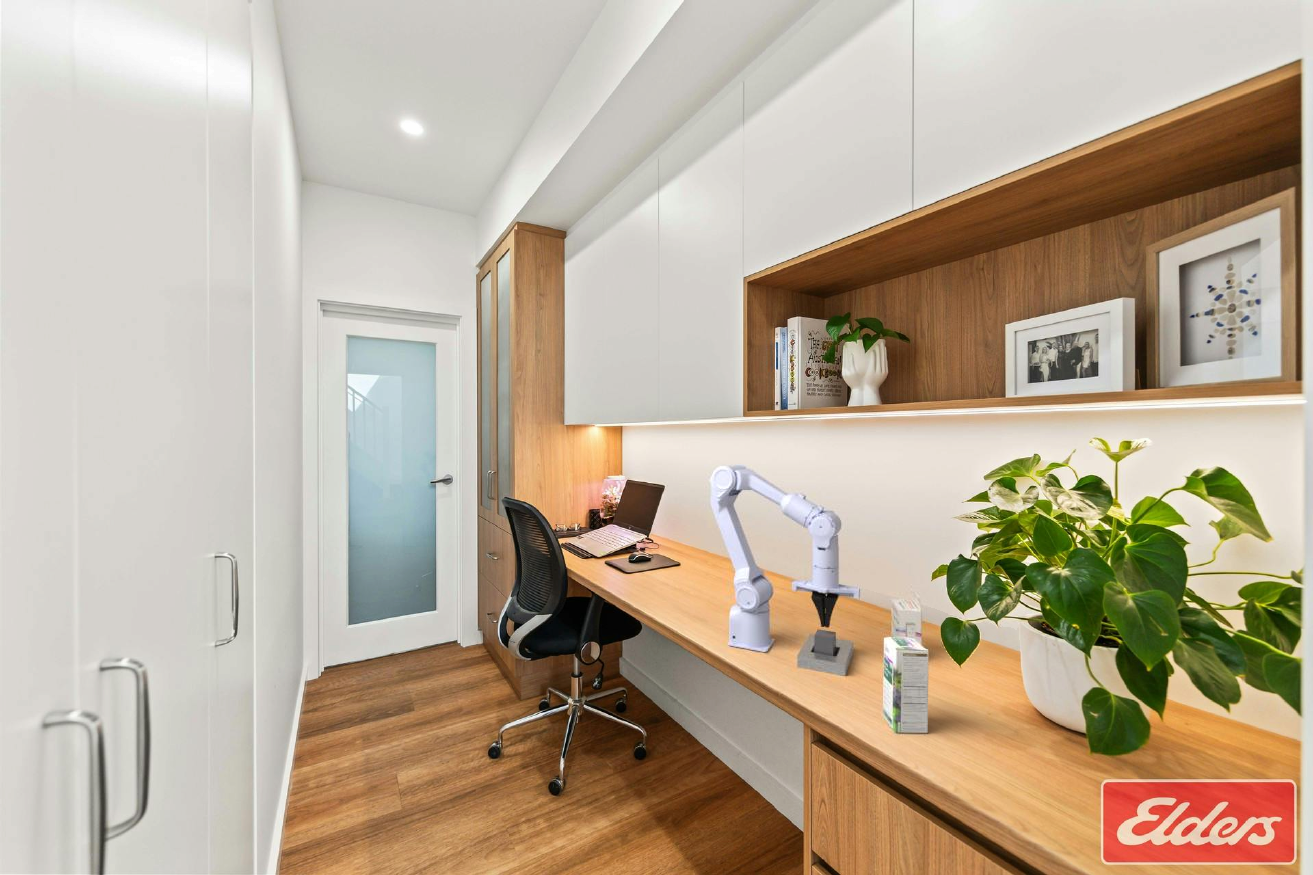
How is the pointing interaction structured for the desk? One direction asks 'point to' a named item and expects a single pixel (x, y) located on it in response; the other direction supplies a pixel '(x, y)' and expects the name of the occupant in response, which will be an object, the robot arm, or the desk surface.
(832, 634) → the plug
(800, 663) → the socket plate
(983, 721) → the desk surface
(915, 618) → the ink cartridge box
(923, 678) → the syrup box
